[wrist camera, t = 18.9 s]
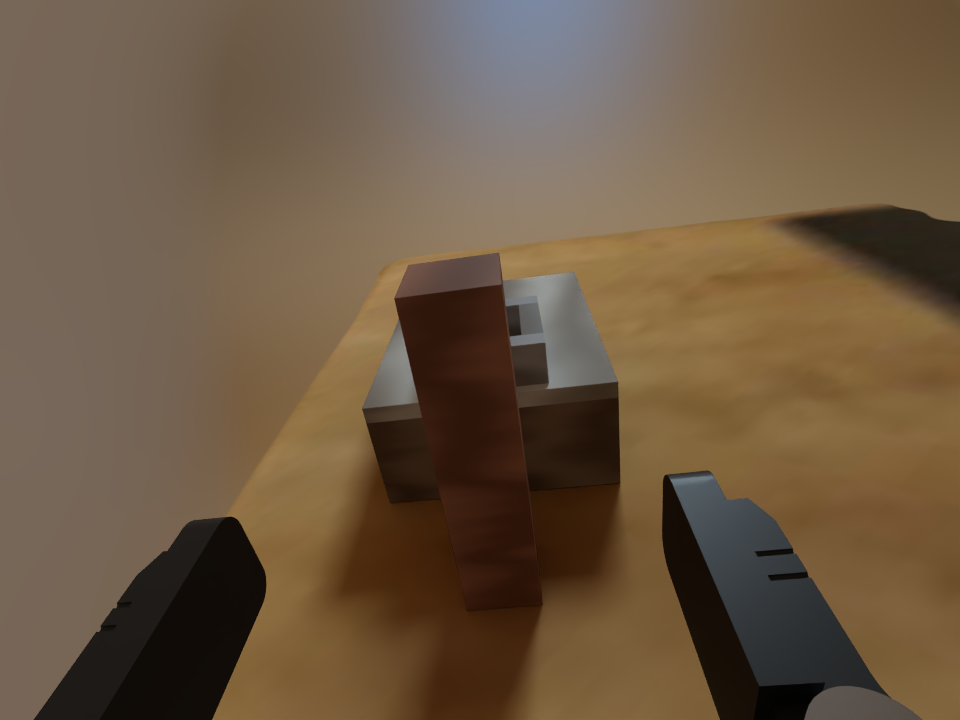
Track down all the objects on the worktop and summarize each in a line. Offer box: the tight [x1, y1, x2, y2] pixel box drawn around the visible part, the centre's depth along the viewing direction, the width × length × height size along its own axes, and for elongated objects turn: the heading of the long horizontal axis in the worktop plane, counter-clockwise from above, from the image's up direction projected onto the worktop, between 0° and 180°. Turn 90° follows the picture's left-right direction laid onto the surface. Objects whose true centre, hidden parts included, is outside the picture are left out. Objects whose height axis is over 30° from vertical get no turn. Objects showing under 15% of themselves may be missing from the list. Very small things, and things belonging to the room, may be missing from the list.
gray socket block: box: [362, 272, 620, 503], centre depth 37 cm, size 14×18×10 cm
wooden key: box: [394, 253, 543, 611], centre depth 23 cm, size 4×4×16 cm
